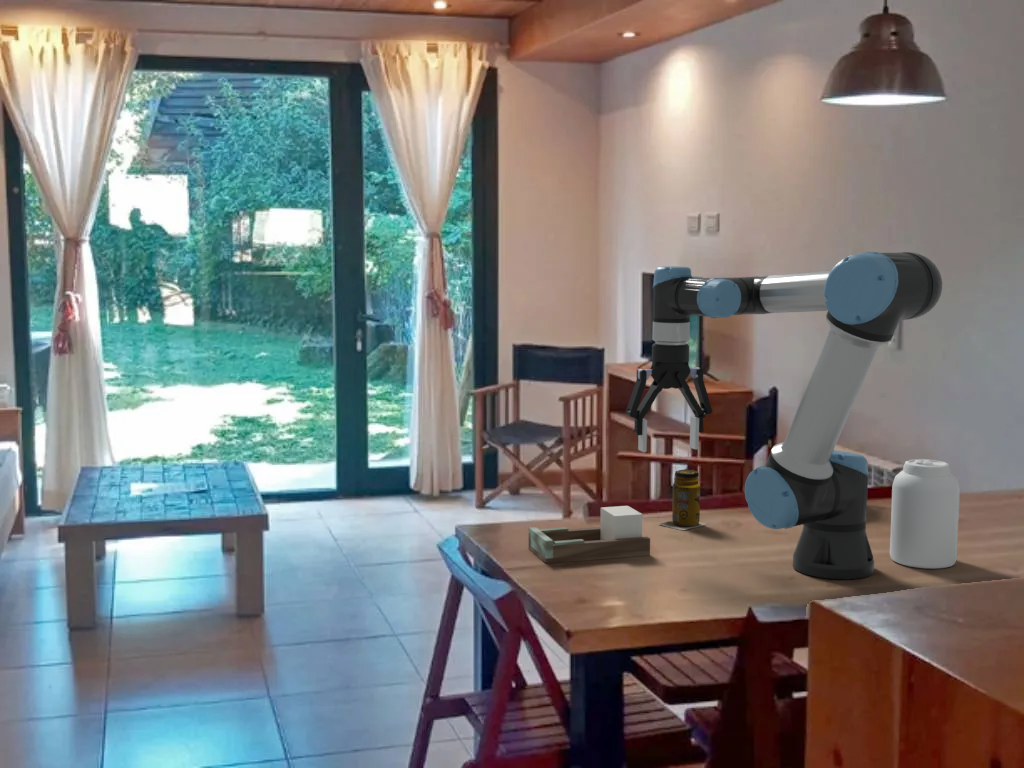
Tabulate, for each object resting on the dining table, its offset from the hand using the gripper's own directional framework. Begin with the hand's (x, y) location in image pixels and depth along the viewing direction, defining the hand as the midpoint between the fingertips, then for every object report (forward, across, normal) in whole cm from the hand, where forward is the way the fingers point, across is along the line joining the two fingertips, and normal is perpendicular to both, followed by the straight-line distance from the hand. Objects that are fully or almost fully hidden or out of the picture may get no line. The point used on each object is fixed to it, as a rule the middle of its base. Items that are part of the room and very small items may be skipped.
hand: (668, 449), depth 245 cm
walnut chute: (+20, +17, 0) cm, 27 cm away
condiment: (+21, -11, -16) cm, 28 cm away
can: (+20, -44, +25) cm, 54 cm away
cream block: (+19, +10, 0) cm, 22 cm away
